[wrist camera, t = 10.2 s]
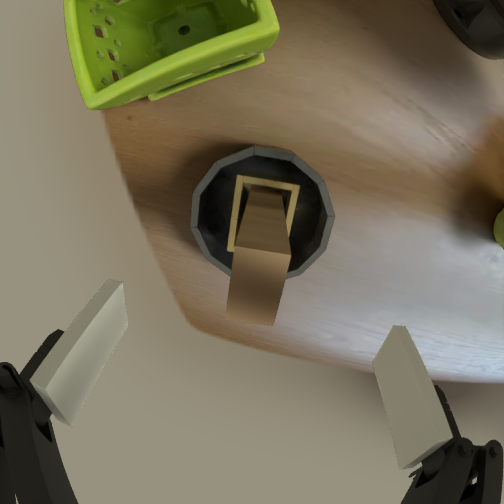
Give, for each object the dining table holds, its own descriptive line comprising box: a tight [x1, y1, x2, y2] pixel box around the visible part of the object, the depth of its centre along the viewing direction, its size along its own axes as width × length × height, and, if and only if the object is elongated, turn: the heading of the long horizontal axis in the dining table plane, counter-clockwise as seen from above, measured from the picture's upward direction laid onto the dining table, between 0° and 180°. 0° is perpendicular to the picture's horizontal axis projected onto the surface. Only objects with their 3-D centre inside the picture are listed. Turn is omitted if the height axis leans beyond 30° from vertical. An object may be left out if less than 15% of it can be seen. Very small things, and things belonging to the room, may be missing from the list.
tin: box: [190, 145, 335, 279], centre depth 28 cm, size 14×14×4 cm
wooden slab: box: [225, 185, 291, 326], centre depth 22 cm, size 5×3×15 cm, turn 171°
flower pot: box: [64, 0, 280, 110], centre depth 16 cm, size 14×14×13 cm
